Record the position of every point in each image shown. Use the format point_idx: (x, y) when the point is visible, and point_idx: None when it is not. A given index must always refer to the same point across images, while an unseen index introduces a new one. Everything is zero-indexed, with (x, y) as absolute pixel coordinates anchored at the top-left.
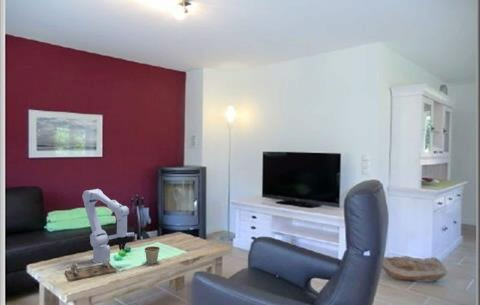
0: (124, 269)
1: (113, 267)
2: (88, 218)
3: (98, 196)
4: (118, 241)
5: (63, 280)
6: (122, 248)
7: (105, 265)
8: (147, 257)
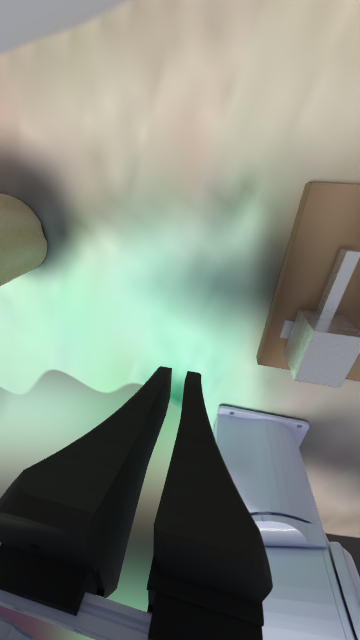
0: (217, 215)
1: (286, 269)
2: None
3: None
4: (249, 512)
5: None
6: (168, 389)
7: (333, 316)
8: (5, 225)
